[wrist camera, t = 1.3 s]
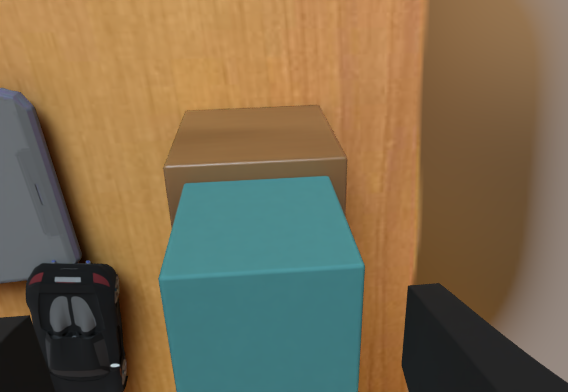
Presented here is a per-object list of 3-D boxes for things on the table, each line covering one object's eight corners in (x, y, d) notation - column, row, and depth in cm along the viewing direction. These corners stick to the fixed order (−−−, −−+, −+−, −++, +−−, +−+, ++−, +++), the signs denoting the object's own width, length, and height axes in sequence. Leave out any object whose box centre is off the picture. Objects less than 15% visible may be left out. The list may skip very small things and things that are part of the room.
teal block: (327, 318, 16) (356, 441, 12) (201, 327, 15) (186, 456, 11) (329, 174, 14) (366, 265, 10) (183, 182, 13) (156, 278, 9)
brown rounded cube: (318, 242, 21) (341, 329, 16) (200, 249, 21) (186, 340, 16) (319, 104, 18) (347, 156, 13) (184, 110, 18) (162, 165, 13)
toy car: (132, 388, 24) (123, 427, 22) (57, 388, 23) (41, 428, 21) (121, 249, 20) (109, 282, 18) (32, 247, 20) (10, 280, 18)
